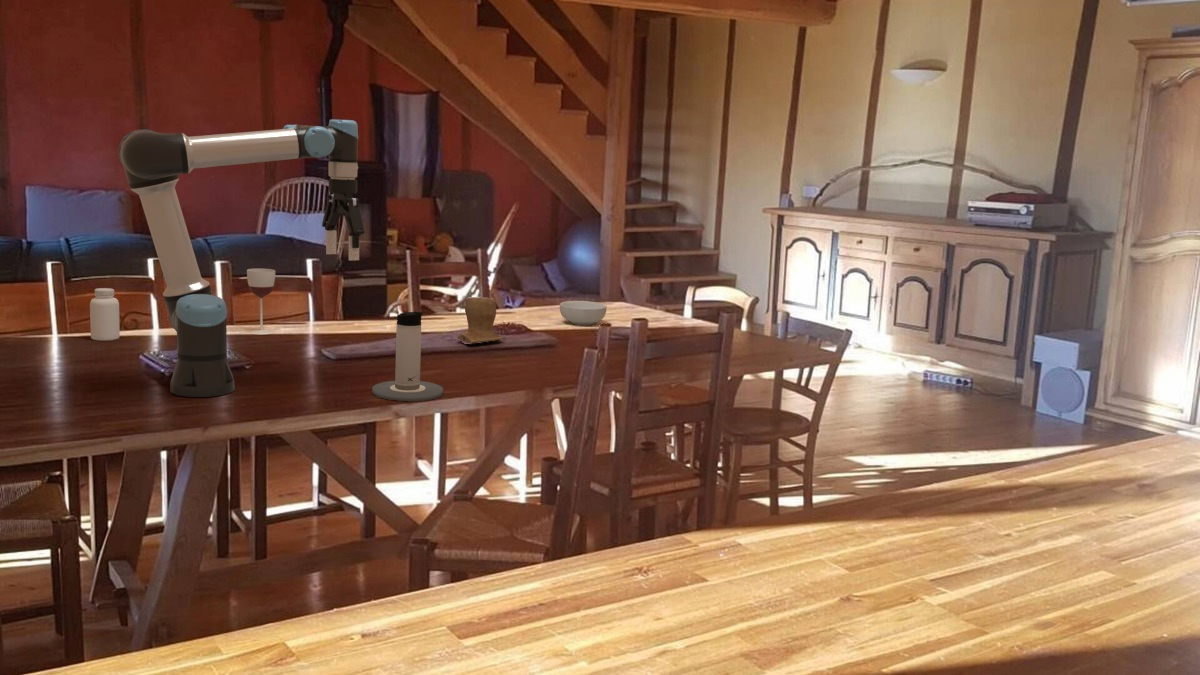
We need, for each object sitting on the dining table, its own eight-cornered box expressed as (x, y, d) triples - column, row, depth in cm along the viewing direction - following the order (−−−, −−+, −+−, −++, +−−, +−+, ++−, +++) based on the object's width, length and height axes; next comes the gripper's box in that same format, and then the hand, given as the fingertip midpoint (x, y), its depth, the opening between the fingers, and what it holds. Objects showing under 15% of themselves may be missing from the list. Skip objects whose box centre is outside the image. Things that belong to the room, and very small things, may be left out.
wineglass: (271, 335, 345) (270, 272, 342) (243, 333, 345) (243, 271, 342) (278, 330, 353) (278, 269, 349) (251, 329, 353) (251, 267, 349)
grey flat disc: (393, 404, 269) (393, 399, 269) (359, 389, 283) (359, 383, 283) (456, 396, 281) (456, 391, 280) (420, 382, 294) (420, 377, 294)
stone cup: (484, 337, 361) (485, 292, 359) (507, 343, 353) (509, 297, 351) (447, 341, 351) (448, 295, 348) (471, 348, 343) (472, 300, 340)
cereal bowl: (554, 325, 390) (555, 305, 388) (564, 318, 406) (564, 299, 405) (601, 329, 387) (602, 309, 386) (608, 321, 403) (610, 302, 402)
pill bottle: (125, 338, 328) (124, 289, 326) (101, 342, 322) (99, 292, 319) (109, 335, 333) (108, 286, 330) (85, 338, 326) (83, 288, 323)
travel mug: (415, 391, 278) (417, 314, 274) (391, 388, 279) (393, 311, 275) (424, 386, 284) (426, 310, 280) (400, 383, 285) (402, 308, 281)
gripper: (377, 181, 285) (376, 262, 289) (335, 175, 304) (334, 251, 308) (351, 181, 280) (350, 263, 284) (309, 175, 299) (309, 252, 303)
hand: (342, 257), depth 296 cm, fingers open, 13 cm apart
